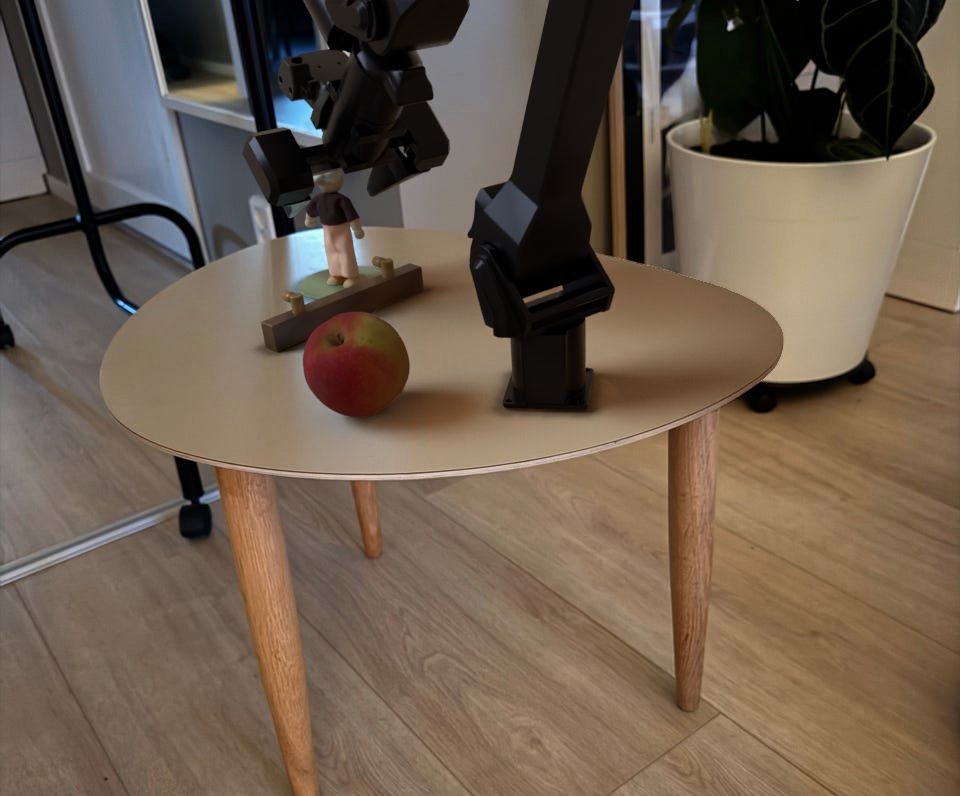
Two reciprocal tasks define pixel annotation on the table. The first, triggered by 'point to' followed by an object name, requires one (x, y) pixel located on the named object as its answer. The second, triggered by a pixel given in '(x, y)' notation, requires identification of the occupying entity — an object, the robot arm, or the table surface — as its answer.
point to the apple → (356, 364)
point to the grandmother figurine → (336, 228)
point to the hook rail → (339, 300)
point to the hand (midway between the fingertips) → (329, 202)
